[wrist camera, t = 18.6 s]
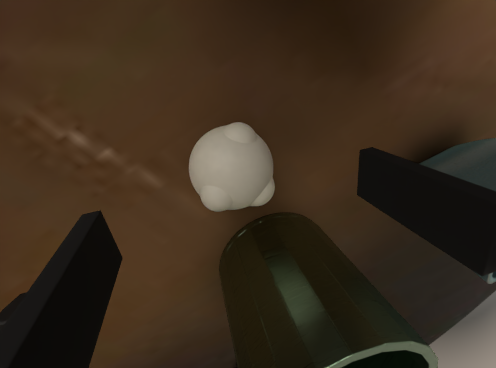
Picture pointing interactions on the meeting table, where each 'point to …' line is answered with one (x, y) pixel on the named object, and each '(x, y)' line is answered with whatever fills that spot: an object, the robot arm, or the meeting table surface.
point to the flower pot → (469, 168)
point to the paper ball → (232, 168)
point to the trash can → (309, 303)
